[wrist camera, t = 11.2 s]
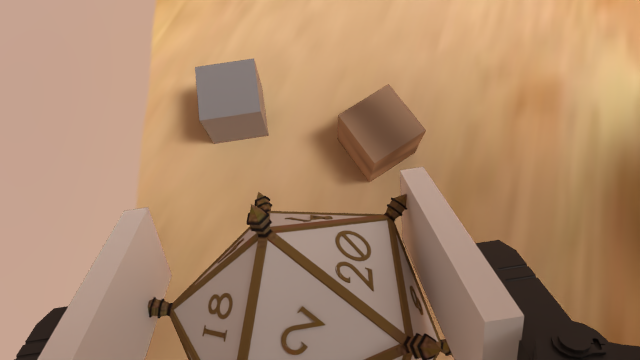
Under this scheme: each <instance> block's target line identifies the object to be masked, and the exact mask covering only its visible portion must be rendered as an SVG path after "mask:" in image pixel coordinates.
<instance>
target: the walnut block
mask: <svg viewBox="0 0 640 360" xmlns="http://www.w3.org/2000/svg"><path fill="white" fill-rule="evenodd" d="M425 131H426V130H425V129H424V127H423V126H422V125H421V124H420V122H419V121H418V120H417V119H416V118H415V116H414V115H413V114H412V113H411V111H410V110H409V109H408V108H407V106H406V105H405V104H404V103H403V101H402V100H401V99H400V98H399V96H398V95H397V94H396V93H395V92H394V90H393V89H392V88H391V87H390V85H389V84H388V85H386V86H385V87H383V88H382V89H380V90H378V91H377V92H375V93H373V94H372V95H370V96H369V97H367V98H365V99H364V100H362V101H360V102H359V103H357V104H356V105H354V106H352V107H351V108H349V109H348V110H346V111H344V112H343V113H341V114H339V115H338V140H339V142H340V143H341V144H342V146H343V147H344V148H345V150H346V151H347V152H348V154H349V155H350V157H351V158H352V159H353V161H354V162H355V163H356V165H357V166H358V167H359V169H360V170H361V172H362V173H363V174H364V176H365V177H366V178H367V180H368V181H369V182H371V181H372V180H374V179H375V178H377V177H378V176H380V175H381V174H383V173H384V172H386V171H387V170H389V169H391V168H392V167H394V166H395V165H397V164H398V163H400V162H401V161H403V160H404V159H406V158H407V157H409V156H410V155H412V154H414V153H415V151H416V149H417V147H418V145H419V143H420V141H421V139H422V137H423V135H424V133H425Z"/></svg>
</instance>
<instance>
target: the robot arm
mask: <svg viewBox="0 0 640 360" xmlns="http://www.w3.org/2000/svg"><path fill="white" fill-rule="evenodd" d="M400 186H401V195H404V194H407V202H406V208H408V209H407V210H404V211H403V212H402V214H403V215H402V234H403V242H404V244H405V247H406V249H407V251H408V254H409V256H410V258H411V260H412V263H413V265H414V267H415V270H416V272H417V274H418V277H419V279H420V281H421V283H422V286H423V288H424V290H425V293H426V295H427V297H428V300H429V302H430V304H431V307H432V309H433V311H434V313H435V316H436V318H437V320H438V323H439V325H440V327H441V330H442V332H443V334H444V336H445V339H446V341H447V343H448V346H449V348H450V350H451V353H452V355H453V357H454V359H455V360H640V347H639V346H630V345H621V344H616V343H610V342H608V341H607V340H606V339H605V338H604V337H603V336H602V335H601V334H600V333H598V332H597V331H596V330H594V329H592V328H590V327H588V326H586V325H584V324H582V323H578V322H574V321H572V320H571V319H570V318H569V317H568V315H567V314H566V313H565V311H564V310H563V309H562V308H561V306H560V305H559V304H558V303H557V301H556V300H555V299H554V298H553V296H552V295H551V294H550V293H549V291H548V290H547V289H546V288H545V286H544V285H543V284H542V283H541V281H540V280H539V279H538V278H536V276H535V274H534V273H533V271H532V270H531V269H530V268H529V267H527V264H526V263H525V261H524V260H523V259H522V258H521V256H520V255H519V254H518V253H517V251H516V250H514V249H513V248H511V247H509V246H508V245H506V244H505V243H503V242H501V241H500V240H495V241H489V242H482V243H475V242H474V241H473V239H472V238H471V236H470V235H469V233H468V232H467V230H466V229H465V228H464V226H463V225H462V223H461V222H460V220H459V219H458V217H457V216H456V214H455V213H454V211H453V210H452V208H451V207H450V205H449V204H448V202H447V201H446V199H445V198H444V197H443V195H442V194H441V192H440V191H439V189H438V188H437V186H436V185H435V183H434V182H433V180H432V179H431V177H430V176H429V174H428V173H427V171H426V170H425V168H424V167H418V168H411V169H405V170H400ZM171 276H172V274H171V272H170V269H169V266H168V263H167V260H166V257H165V254H164V251H163V248H162V246H161V243H160V240H159V237H158V234H157V231H156V228H155V225H154V223H153V220H152V217H151V214H150V211H149V208H148V207H146V208H139V209H133V210H126V211H124V212H123V213H122V215H121V217H120V219H119V220H118V222H117V224H116V226H115V227H114V229H113V231H112V232H111V234H110V236H109V237H108V239H107V241H106V243H105V244H104V246H103V248H102V250H101V251H100V253H99V255H98V256H97V258H96V260H95V261H94V263H93V265H92V267H91V268H90V270H89V272H88V273H87V275H86V277H85V279H84V280H83V282H82V284H81V286H80V287H79V289H78V291H77V292H76V294H75V296H74V297H73V299H72V301H71V303H70V304H69V306H67V307H61V308H55V309H53V310H52V311H51V312H50V313H49V314H47V315H46V316H45V317H44V318H43V319H42V320H41V321H40V322H39V323H38V324H37V325H36V326H35V328H34V329H33V331H32V332H31V334H30V336H29V337H28V339H27V340H26V344H25V345H23V346H22V348H21V349H20V351H19V353H18V354H17V358H16V359H15V360H145V357H146V354H147V351H148V348H149V345H150V341H151V338H152V335H153V332H154V329H155V326H156V323H157V320H158V316H152V317H151V318H149V311H148V303H149V300H152V299H153V298H154V297H156V299H158V300H162V299H164V298H165V295H166V292H167V288H168V285H169V282H170V279H171Z"/></svg>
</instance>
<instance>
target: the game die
mask: <svg viewBox="0 0 640 360" xmlns="http://www.w3.org/2000/svg"><path fill="white" fill-rule="evenodd" d="M391 200H392V201H391V203H390V204H388V205H387V206H388V208H387V211H386V213H385V214H384V215H381V214H348V213H315V212H282V211H271V206H272V204H270V202H269V201H270V199H269V198H268V197H266V196H263V195H262V194H261V193H259V192H258V196H257V199H256V200H255V206H254V205H252V204H251V210H250V213H248V218H247V225H250V227H249V228H248V229H247V230H246V231H245V232H244V233H243V234H242V235H241V236H240V237H239V238H238V239H237V240H236V241H235V242H234V243H233V244H232V245H231V246H230V247H229V248H228V249H227V250H226V251H225V252H224V253H223V254H222V255H221V256H220V257H219V258H218V259H217V260H216V261H215V262H214V263H213V264H212V265H211V266H210V267H209V268H208V269H207V270H206V271H205V272H204V273H203V274H202V275H201V276H200V277H199V278H198V279H197V280H196V281H195V282H194V283H193V284H192V285H191V286H190V287H189V288H188V289H187V290H186V291H185V292H184V293H183V294H182V295H181V296H180V297H179V298H178V299H176V300H175V301H174V302H173V303H168V302H166V301H164V299H162V300H158V299H156V297H154V298H153V299H152V300H149V303H148V311H149V318H151V317H152V316H158V318H160V317H161V316H166V315H168V316H170V318H171V320H172V322H173V324H174V327H175V329H176V331H177V334H178V336H179V338H180V341H181V343H182V345H183V348H184V350H185V352H186V354H187V357H188V359H189V360H436V358H437V356H438V354H439V352H440V351H441V352H443V353H445V356H448V355H452V353H451V350H450V348H449V346H448V343H447V341H446V339H444V340H440V338H439V336H438V333H437V331H436V328H435V325H434V323H433V320H432V318H431V315H430V313H429V310H428V307H427V305H426V302H425V300H424V297H423V295H422V292H421V290H420V287H419V284H418V282H417V279H416V277H415V274H414V272H413V269H412V266H411V264H410V261H409V259H408V256H407V254H406V251H405V248H404V246H403V243H402V241H401V238H400V236H399V233H398V230H397V228H396V225H395V223H394V221H395V219H396V218H397V217H398V216H402V215H403V214H402V212H403V211H404V210H407V209H408V208H406V202H407V194H404V195H401V196H399V197H396V198H391ZM256 206H257V207H256ZM452 357H453V355H452Z"/></svg>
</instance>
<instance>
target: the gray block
mask: <svg viewBox="0 0 640 360" xmlns="http://www.w3.org/2000/svg"><path fill="white" fill-rule="evenodd" d="M195 72H196V85H197V97H198V109H199V121H200V122H201V124H202V125H203V127H204V128H205V130H206V132H207V133H208V135H209V136H210V138H211V139H212V141H213V142H214V144H216V143H222V142H229V141H235V140H242V139H249V138H255V137H262V136H268V128H267V120H266V113H265V105H264V98H263V90H262V85H261V82H260V78H259V75H258V71H257V68H256V64H255V61H254V59H248V60H241V61H234V62H227V63H220V64H214V65H207V66H200V67H195Z"/></svg>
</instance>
